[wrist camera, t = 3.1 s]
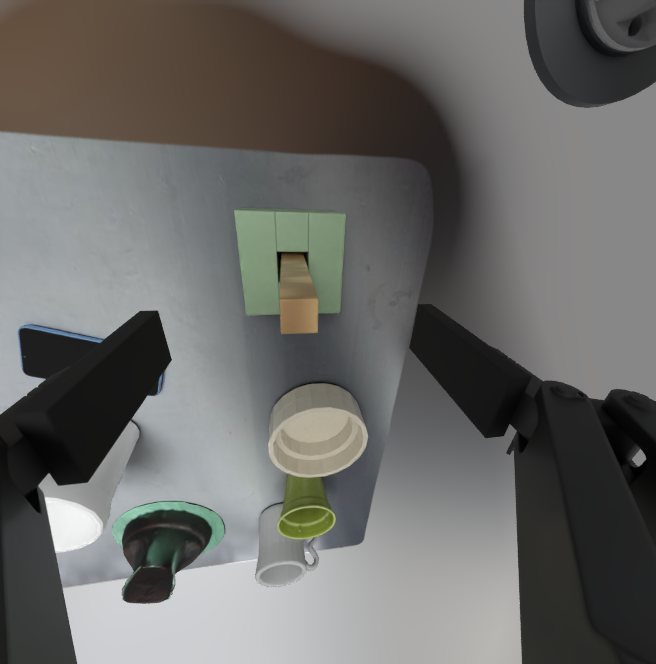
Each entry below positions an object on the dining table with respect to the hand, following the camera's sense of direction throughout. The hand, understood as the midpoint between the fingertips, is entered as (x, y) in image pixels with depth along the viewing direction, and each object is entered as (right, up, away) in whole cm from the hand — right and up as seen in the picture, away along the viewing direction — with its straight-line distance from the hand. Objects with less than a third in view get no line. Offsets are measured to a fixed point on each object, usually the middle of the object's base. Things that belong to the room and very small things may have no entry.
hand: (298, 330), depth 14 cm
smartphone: (-28, -4, +20) cm, 34 cm away
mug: (-7, -39, +42) cm, 57 cm away
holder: (-3, +9, +17) cm, 20 cm away
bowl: (-1, -14, +29) cm, 32 cm away
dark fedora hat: (-29, -39, +38) cm, 62 cm away
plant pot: (-3, -27, +36) cm, 45 cm away
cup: (-30, -14, +25) cm, 41 cm away
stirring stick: (-3, +9, +17) cm, 20 cm away
